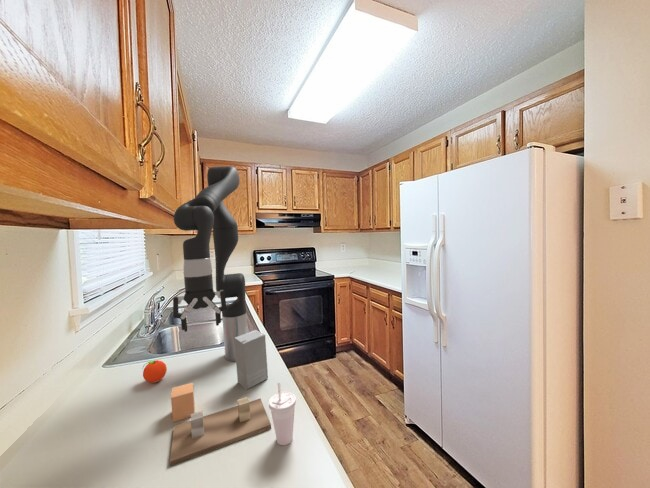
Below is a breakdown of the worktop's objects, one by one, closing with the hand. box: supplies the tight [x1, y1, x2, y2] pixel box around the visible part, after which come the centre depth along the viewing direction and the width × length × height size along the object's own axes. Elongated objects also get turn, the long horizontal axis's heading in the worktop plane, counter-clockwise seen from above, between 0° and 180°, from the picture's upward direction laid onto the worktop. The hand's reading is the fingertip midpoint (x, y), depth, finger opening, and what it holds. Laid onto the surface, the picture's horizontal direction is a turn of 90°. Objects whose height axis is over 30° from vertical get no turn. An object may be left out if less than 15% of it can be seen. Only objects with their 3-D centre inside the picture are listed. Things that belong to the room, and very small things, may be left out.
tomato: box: [141, 359, 168, 384], centre depth 92 cm, size 8×7×7 cm
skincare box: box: [234, 329, 269, 390], centre depth 88 cm, size 8×7×16 cm
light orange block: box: [170, 382, 196, 423], centre depth 74 cm, size 5×5×7 cm
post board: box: [169, 396, 272, 467], centre depth 68 cm, size 12×22×6 cm, turn 116°
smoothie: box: [268, 381, 297, 446], centre depth 63 cm, size 6×6×14 cm
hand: (202, 327), depth 80 cm, fingers open, 8 cm apart
